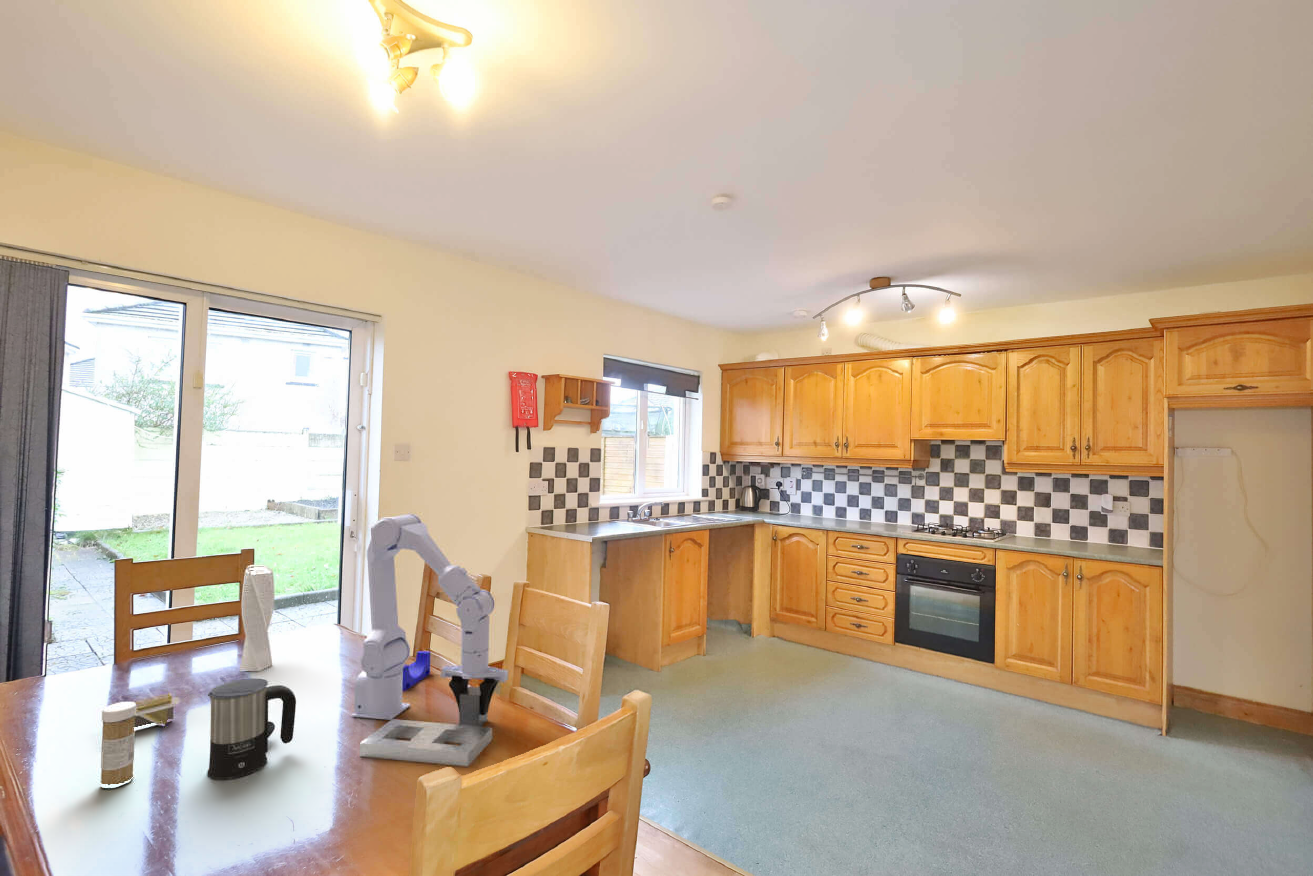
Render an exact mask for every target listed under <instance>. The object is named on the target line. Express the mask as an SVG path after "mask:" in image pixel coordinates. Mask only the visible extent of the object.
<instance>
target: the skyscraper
mask: <svg viewBox="0 0 1313 876" xmlns="http://www.w3.org/2000/svg"><path fill="white" fill-rule="evenodd" d="M240 605H241V619H242V625H243V631H244V636H245V637H244V643H243V649H242V655H241V661H240V666H239V671H240V670H247V671H260V670H261V671H263V670H265V669H267V668H268V667H267V666H269V665H271V666H273V659H272V653H271V652H272V650H271V645H270V637H269V632H268V630H269V628H270V625H271V620H272V617H273V612H274V605H275V580H274V571H273V570H272V568H270V567H269V566H267V565H265V564H250V565H248V566H246V569H245V571H244V577H243V583H242V592H241V604H240ZM266 667H267V668H266ZM269 667H270V666H269ZM264 668H265V669H264ZM262 669H263V670H262ZM261 671H260V672H261Z"/></svg>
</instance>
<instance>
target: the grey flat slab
mask: <svg viewBox="0 0 1313 876" xmlns="http://www.w3.org/2000/svg"><path fill="white" fill-rule="evenodd" d="M397 738H398V739H397ZM400 739H401V740H400ZM402 739H410V740H402ZM492 740H493V727H490V726H489V727H488V726H481V727H479V726H467V725H459V724H455V723H454V724H453V723H442V722H430V721H420V720H408V719H407V720H406V719H398V718H397V719H395V718H393V719H391V720H389V721H388V722H386V723H385V724H384V725H383V726H381V727H379V728H378V729H377V730H376V731H373V733H371V734H370V735H368V736H367V737H366V738H365V739H363V740H362V741H361V742H360V743H359V757H364V758H375V759H385V760H394V761H395V760H397V761H405V762H417V763H427V764H435V763H436V764H437V765H447V766H448V765H449V766H458V767H469V766H470V765H471V764H472V763H473V762H474V760H475V759H476V758H477V757H478V756H479V755H480V754H481V753H482V752H483V751H484V750H485V748H486V747H487V746H488V745H489V744H490V743H491V742H492ZM447 743H454V744H447ZM455 744H456V745H455ZM457 744H460V745H457Z"/></svg>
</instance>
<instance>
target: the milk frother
mask: <svg viewBox="0 0 1313 876" xmlns="http://www.w3.org/2000/svg"><path fill="white" fill-rule="evenodd" d="M268 685H269V681H268V680H267V679H264V678H257V677H255V678H242V679H237V680H231V681H229V682H224V683H222V684H219V685H217V686H215V687H213V688H211V689H210V690H209V692H208V694H207V696H208V697H209V699H210V738H209V741H210V744H209V745H210V746H209V765H208V770H207V772H206V774H208V775H207V776H208V778H210V777H211V778H210V779H213V778H214V780H230V779H232V780H233V779H235V778H236V779H237V778H240V777H244V776H247V775H250V774H252V773H254V772H257V771H258V770H259V769H261V768H263V766H265V765H266V764H267V762H268V757H267V753H268V752H269V751H268V750H269V749H268V746H269V741H268V740H269V738H270V737H271V735H272V734H273V732H274V731H275V729H276V724H274V722H272V721H269V701H270V700H275V699H280V700H281V701H282V710H281V721H280V723H281V724H280V736H279V737H280V740H281V742H282V743H283V744H285V745H286V744H289V743H290V742H292V741H293V737H294V731H295V721H296V720H295V718H296V708H297V707H296V706H297V699H296V695H295V694H294V692H293V691H292V689H290V687H288V686H285V685H282V684H281V685H280V684H277V685H271V686H268Z"/></svg>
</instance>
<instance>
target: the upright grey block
mask: <svg viewBox="0 0 1313 876" xmlns="http://www.w3.org/2000/svg"><path fill="white" fill-rule="evenodd" d="M488 712H489V711H488ZM488 712H487V713H486V714H485V715H481V693H480V688H479V686H468V688H467V689H466V690H464V691H463V692H462V693H461V694H460V712H459V711H458V713H459V717H458V719H459V721H458V722H459V724H458V725H467V726H479V727H483V725H484V724H485V723H486V722H487V721H488Z"/></svg>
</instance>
